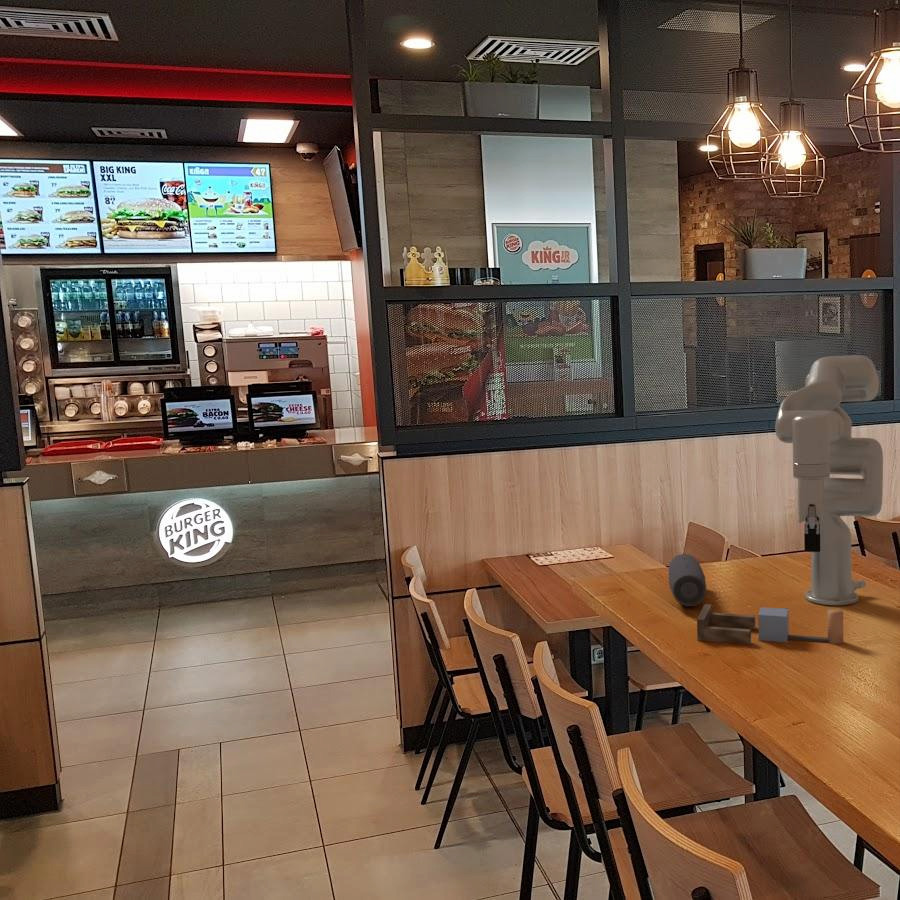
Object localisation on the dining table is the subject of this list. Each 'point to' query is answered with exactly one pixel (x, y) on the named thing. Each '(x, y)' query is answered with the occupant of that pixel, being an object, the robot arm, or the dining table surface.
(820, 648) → the dining table surface
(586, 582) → the dining table surface
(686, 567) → the bluetooth speaker
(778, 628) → the block
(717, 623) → the dark u-shaped frame
